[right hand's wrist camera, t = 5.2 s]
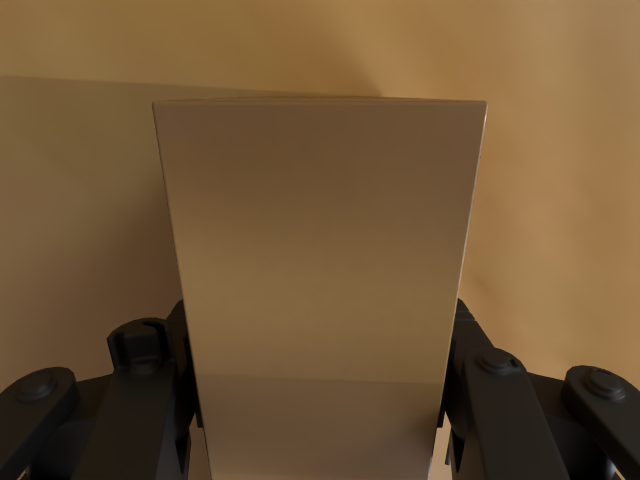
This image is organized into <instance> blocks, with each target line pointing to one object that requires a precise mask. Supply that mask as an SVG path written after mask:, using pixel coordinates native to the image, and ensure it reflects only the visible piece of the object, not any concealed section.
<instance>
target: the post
mask: <svg viewBox="0 0 640 480" xmlns="http://www.w3.org/2000/svg"><path fill="white" fill-rule="evenodd" d="M152 109H153V115H154V121H155V128H156V134H157V140H158V146H159V153H160V159H161V165H162V172H163V178H164V184H165V190H166V197H167V203H168V209H169V216H170V222H171V228H172V234H173V241H174V247H175V253H176V260H177V266H178V272H179V278H180V285H181V291H182V297H183V304H184V310H185V316H186V322H187V329H188V335H189V341H190V348H191V354H192V360H193V366H194V373H195V379H196V385H197V391H198V398H199V404H200V410H201V417H202V423H203V429H204V435H205V442H206V448H207V454H208V461H209V467H210V473H211V479H212V480H429V474H430V468H431V462H432V456H433V449H434V443H435V437H436V431H437V424H438V418H439V412H440V406H441V399H442V393H443V387H444V381H445V374H446V368H447V362H448V356H449V349H450V343H451V337H452V331H453V324H454V318H455V312H456V305H457V299H458V293H459V287H460V280H461V274H462V268H463V262H464V255H465V249H466V243H467V237H468V230H469V224H470V218H471V212H472V205H473V199H474V193H475V187H476V180H477V174H478V168H479V162H480V155H481V149H482V143H483V137H484V130H485V124H486V118H487V111H488V102H486V101H472V100H446V99H421V98H396V97H244V98H218V99H193V100H168V101H154V102H153V103H152Z"/></svg>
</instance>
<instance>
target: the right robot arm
mask: <svg viewBox="0 0 640 480" xmlns="http://www.w3.org/2000/svg"><path fill="white" fill-rule="evenodd" d="M107 343H108V347H109V351H110V354H111V358H112V362H113V366H114V371H113V374H109V375H106V376H102V377H97V378H93V379H88V380H84V381H79V382H76V379H75V376H74V373H73V372H72V371H71V370H70V369H68V368H63V367H52V368H45V369H42V370H39V371H35V372H32V373H30V374H28V375H26V376H24V377H22V378H20V379H18V380H17V381H15V382H14V383H13V384H11V385H10V386H9V387H7V388H6V389H5V390H4V391H3V392H2V393H1V394H0V480H17V479H18V477H19V476H20V475H21V474H22V472H23V471H24V470H25V472H26V473H25V474H24V476H23V477H22V478H21V480H188V470H189V460H190V450H191V437H190V431H189V426H190V424H191V421H192V419H193V416H194V414H195V413H196V419H197V425H198V428H203V423H202V417H201V410H200V404H199V398H198V391H197V385H196V379H195V373H194V366H193V360H192V354H191V348H190V341H189V335H188V329H187V322H186V316H185V310H184V304H183V299H182V300H180V301H179V302H178V303H177V304H176V306H175V307H174V309H173V310H172V312H171V314H169V316H168V317H167V319H166V320H164V319H160V318H142V319H138V320H133V321H131V322H128V323H126V324H123V325H121V326H120V327H118V328H117V329H115V330H114V331H112V332H111V334H110V335H109V336H108V337H107ZM445 411H446V414H447V416H448V419H449V421H450V424H451V431H450V437H449V443H448V448H447V454H446V460H445V464H446V465H450V460H451V470H452V480H621V478H620V477H619V476H618V475H617V473H616V472H615V470H616V468H617V469H618V471H619V472H620V473H621V474H622V476H623V477H624V478H625V479H626V480H640V391H639V390H638V389H637V388H635V387H634V386H633V385H632V384H630V383H629V382H628V381H626V380H625V379H623V378H622V377H620V376H618V375H616V374H614V373H612V372H610V371H607V370H604V369H601V368H597V367H593V366H584V365H581V366H575V367H572V368H571V369H569V370H568V371H567V373H566V377H565V380H559V379H555V378H550V377H545V376H541V375H536V374H533V373H529V372H527V371H526V368H525V367H524V366H523V364H522V363H521V361H520V360H518V359H517V358H516V357H514V356H513V355H512V354H510V353H508V352H506V351H504V350H501V349H498V348H495V347H494V346H493V345H492V343H491V342H490V340H489V339H488V337H487V336H486V334H485V333H484V332H483V330H482V329H481V327H480V326H479V324H478V323H477V321H475V318H474V317H473V316H472V314H471V313H469V310H468V308H467V307H466V305H465V304H464V302H463V301H462V300H460V299H459V298H458V299H457V305H456V312H455V318H454V324H453V331H452V337H451V343H450V349H449V356H448V362H447V368H446V374H445V381H444V387H443V393H442V399H441V406H440V412H439V418H438V424H437V428H442V427H443V421H444V415H445Z"/></svg>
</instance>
